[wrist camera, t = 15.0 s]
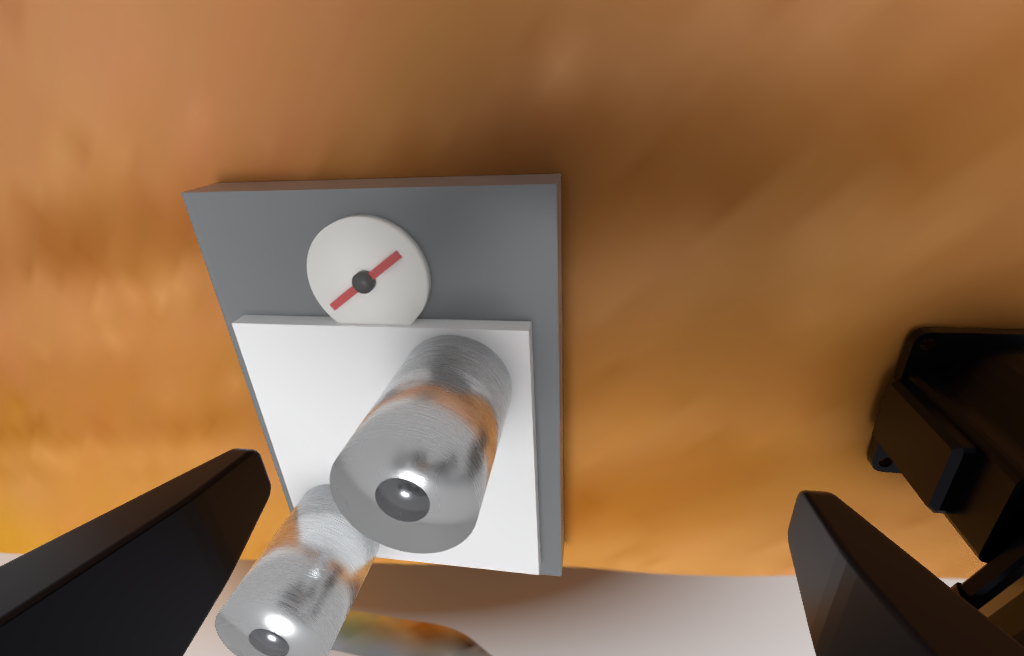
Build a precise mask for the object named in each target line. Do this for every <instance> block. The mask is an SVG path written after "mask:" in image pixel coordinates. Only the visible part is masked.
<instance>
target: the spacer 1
mask: <svg viewBox="0 0 1024 656" xmlns="http://www.w3.org/2000/svg"><path fill="white" fill-rule="evenodd" d="M380 546H381V544H379V543H377V542H375V541H373V540H372V539H370V538H368V537H367V536H365V535H364V534H362V533H361V532H360V531H358V530H357V529H356V528H354V527H353V526H352V525H351V524H350V523H349V522H348V521H347V520H346V518H345V517H344V516H343V515H342V513H341V512H340V510H339V509H338V507H337V506H336V504H335V502H334V499H333V497H332V494H331V490H330V484H323V485H318V486H315V487H313V488H311V489H309V490H308V491H307V492H306V493H305V494H304V495H303V497H302V498H301V500H300V501H299V502H298V504H297V505H296V506H295V508H294V509H293V511H292V512H291V513H290V515H289V516H288V518H287V519H286V520H285V522H284V523H283V524H282V526H281V527H280V529H279V530H278V531H277V533H276V534H275V535H274V537H273V538H272V540H271V541H270V542H269V544H268V545H267V547H266V548H265V549H264V551H263V552H262V553H261V555H260V556H259V558H258V559H257V560H256V562H255V563H254V565H253V566H252V567H251V569H250V570H249V572H248V573H247V574H246V576H245V577H244V578H243V580H242V581H241V582H240V584H239V585H238V587H237V588H236V589H235V591H234V592H233V594H232V595H231V596H230V598H229V599H228V601H227V602H226V603H225V605H224V606H223V607H222V609H221V610H220V611H219V613H218V614H217V616H216V620H215V627H216V631H217V633H218V635H219V637H220V639H221V640H222V642H223V643H224V644H225V645H226V647H227V648H228V649H229V650H230V651H232V652H233V653H234V654H235V655H236V656H328V654H329V652H330V650H331V648H332V646H333V643H334V641H335V639H336V637H337V635H338V633H339V631H340V629H341V627H342V625H343V623H344V621H345V619H346V616H347V614H348V612H349V610H350V608H351V606H352V604H353V602H354V600H355V598H356V596H357V593H358V591H359V589H360V587H361V585H362V583H363V581H364V579H365V577H366V575H367V573H368V571H369V569H370V566H371V564H372V562H373V560H374V558H375V556H376V554H377V552H378V550H379V548H380Z"/></svg>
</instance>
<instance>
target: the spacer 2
mask: <svg viewBox="0 0 1024 656" xmlns="http://www.w3.org/2000/svg"><path fill="white" fill-rule="evenodd" d="M511 398H512V381H511V377H510V374H509V372H508V369H507V367H506V366H505V364H504V363H503V361H502V360H501V359H500V358H499V356H498V355H497V354H496V353H495V352H494V351H492V350H491V349H490V348H488V347H487V346H485V345H484V344H482V343H480V342H478V341H476V340H474V339H471V338H468V337H464V336H459V335H440V336H435V337H432V338H429V339H427V340H424V341H423V342H421V343H420V344H418V345H417V346H416V347H415V348H414V349H413V350H412V351H411V352H410V354H409V355H408V356H407V358H406V359H405V361H404V362H403V364H402V365H401V366H400V368H399V369H398V371H397V372H396V374H395V375H394V376H393V378H392V379H391V381H390V382H389V384H388V385H387V387H386V388H385V389H384V391H383V392H382V394H381V395H380V397H379V398H378V399H377V401H376V402H375V404H374V405H373V407H372V408H371V409H370V411H369V412H368V414H367V415H366V417H365V418H364V419H363V421H362V422H361V424H360V425H359V427H358V428H357V429H356V431H355V432H354V434H353V435H352V437H351V438H350V440H349V441H348V442H347V444H346V445H345V447H344V448H343V450H342V451H341V452H340V454H339V455H338V457H337V458H336V460H335V462H334V463H333V465H332V468H331V471H330V478H329V480H330V490H331V494H332V497H333V499H334V502H335V504H336V506H337V507H338V509H339V510H340V512H341V513H342V515H343V516H344V517H345V518H346V520H347V521H348V522H349V523H350V524H351V525H352V526H353V527H354V528H356V529H357V530H358V531H360V532H361V533H362V534H364V535H365V536H367V537H368V538H370V539H372V540H373V541H375V542H377V543H379V544H382V545H384V546H386V547H389V548H392V549H395V550H399V551H403V552H409V553H419V554H428V553H437V552H442V551H446V550H449V549H451V548H453V547H456V546H457V545H459V544H461V543H462V542H463V541H464V540H466V539H467V538H468V536H469V535H470V534H471V533H472V531H473V529H474V528H475V525H476V522H477V519H478V516H479V512H480V509H481V505H482V502H483V498H484V494H485V491H486V487H487V484H488V480H489V477H490V473H491V470H492V466H493V463H494V459H495V455H496V452H497V448H498V445H499V441H500V438H501V434H502V431H503V427H504V424H505V420H506V416H507V413H508V409H509V406H510V402H511Z"/></svg>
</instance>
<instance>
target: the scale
mask: <svg viewBox="0 0 1024 656" xmlns="http://www.w3.org/2000/svg"><path fill="white" fill-rule="evenodd" d="M182 196H183V199H184V202H185V205H186V208H187V211H188V214H189V217H190V220H191V223H192V225H193V228H194V231H195V234H196V237H197V240H198V243H199V246H200V249H201V252H202V255H203V258H204V261H205V263H206V266H207V269H208V272H209V275H210V278H211V281H212V284H213V287H214V290H215V293H216V296H217V299H218V301H219V304H220V307H221V310H222V313H223V316H224V319H225V322H226V325H227V328H228V331H229V334H230V336H231V339H232V342H233V345H234V348H235V351H236V354H237V357H238V360H239V363H240V366H241V369H242V372H243V374H244V377H245V380H246V383H247V386H248V389H249V392H250V395H251V398H252V401H253V404H254V407H255V409H256V412H257V415H258V418H259V421H260V424H261V427H262V430H263V433H264V436H265V439H266V442H267V445H268V447H269V450H270V453H271V456H272V459H273V462H274V465H275V468H276V471H277V474H278V477H279V480H280V483H281V485H282V488H283V491H284V494H285V497H286V500H287V503H288V506H289V509H290V512H292V511H293V509H294V508H295V506H296V505H297V504H298V502H299V501H300V500H301V498H302V497H303V495H304V494H305V493H306V492H307V491H308V490H309V489H311V488H313V487H315V486H318V485H323V484H330V480H329V478H330V471H331V468H332V465H333V463H334V462H335V460H336V458H337V457H338V455H339V454H340V452H341V451H342V450H343V448H344V447H345V445H346V444H347V442H348V441H349V440H350V438H351V437H352V435H353V434H354V432H355V431H356V429H357V428H358V427H359V425H360V424H361V422H362V421H363V419H364V418H365V417H366V415H367V414H368V412H369V411H370V409H371V408H372V407H373V405H374V404H375V402H376V401H377V399H378V398H379V397H380V395H381V394H382V392H383V391H384V389H385V388H386V387H387V385H388V384H389V382H390V381H391V379H392V378H393V376H394V375H395V374H396V372H397V371H398V369H399V368H400V366H401V365H402V364H403V362H404V361H405V359H406V358H407V356H408V355H409V354H410V352H411V351H412V350H413V349H414V348H415V347H416V346H417V345H418V344H420V343H421V342H423V341H424V340H427V339H429V338H432V337H435V336H440V335H459V336H464V337H468V338H471V339H474V340H476V341H478V342H480V343H482V344H484V345H485V346H487V347H488V348H490V349H491V350H492V351H494V352H495V353H496V354H497V355H498V356H499V358H500V359H501V360H502V361H503V363H504V364H505V366H506V367H507V369H508V372H509V374H510V377H511V381H512V398H511V402H510V406H509V409H508V413H507V416H506V420H505V424H504V427H503V431H502V434H501V438H500V441H499V445H498V448H497V452H496V455H495V459H494V463H493V466H492V470H491V473H490V477H489V480H488V484H487V487H486V491H485V494H484V498H483V502H482V505H481V509H480V512H479V516H478V519H477V522H476V525H475V528H474V529H473V531H472V533H471V534H470V535H469V536H468V538H467V539H466V540H464V541H463V542H462V543H461V544H459V545H457V546H456V547H453V548H451V549H449V550H446V551H442V552H437V553H428V554H419V553H409V552H403V551H399V550H395V549H392V548H389V547H386V546H384V545H382V544H381V546H380V548H379V550H378V552H377V554H376V556H375V557H380V558H389V559H398V560H407V561H417V562H426V563H435V564H444V565H453V566H463V567H472V568H481V569H491V570H499V571H508V572H517V573H527V574H536V575H539V574H544V575H554V576H562V564H563V552H564V457H563V340H562V223H561V173H556V174H519V175H482V176H446V177H409V178H373V179H336V180H300V181H263V182H227V183H215V184H211V185H208V186H204V187H200V188H197V189H193V190H189V191H186V192H182Z"/></svg>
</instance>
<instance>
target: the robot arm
mask: <svg viewBox="0 0 1024 656" xmlns="http://www.w3.org/2000/svg"><path fill="white" fill-rule="evenodd" d="M929 338H930V340H929V342H928V343H927V344H925V345H921V346H920V344H921V343H922V341H924V340H926V339H929ZM873 436H874V438H873V441H872V444H871V447H870V450H869V453H868V458H867V459H868V461H869V462H870V464H871V465H872V467H873V468H874V469H875V470H877V471H881V472H893V473H902V474H903V476H904V477H905V478H906V480H907V481H908V482H909V484H910V485H911V486H912V488H913V489H914V490H915V492H916V493H917V494H918V495H919V497H920V498H921V499H922V501H923V502H924V503H925V505H926V506H927V507H928V508H929V509H930V510H931V511H932V512H934V513H943V514H944V515H945V516H946V518H947V519H948V520H949V521H950V523H951V524H952V525H953V526H954V528H955V529H956V530H957V532H958V533H959V534H960V535H961V537H962V538H963V539H964V541H965V542H966V543H967V544H968V546H969V547H970V548H971V549H972V551H973V552H974V553H975V555H976V556H977V557H978V558H979V559H980V560H981V561H982V562H985V563H987V564H986V565H984V566H983V567H982V568H981V569H979V570H978V571H977V572H976V573H974V574H973V575H972V576H971V577H970V578H968V579H967V580H966V581H965V582H963V583H956V584H955V585H953V586H952V587H951V588H950V587H949V586H947V585H946V584H945V583H944V582H942V581H941V580H940V579H939V578H938V577H936V576H935V575H934V574H933V573H931V572H930V571H929V570H928V569H926V568H925V567H924V566H923V565H921V564H920V563H919V562H918V561H916V560H915V559H914V558H913V557H911V556H910V555H909V554H908V553H906V552H905V551H904V550H903V549H901V548H900V547H899V546H898V545H896V544H895V543H894V542H893V541H891V540H890V539H889V538H888V537H886V536H885V535H884V534H883V533H882V532H880V531H879V530H878V529H877V528H875V527H874V526H873V525H872V524H870V523H869V522H868V521H867V520H865V519H864V518H863V517H862V516H860V515H859V514H858V513H857V512H855V511H854V510H853V509H852V508H850V507H849V506H848V505H847V504H845V503H844V502H843V501H842V500H840V499H839V498H838V497H837V496H835V495H834V494H832V493H829V492H821V491H808V490H805V491H801V492H800V493H799V494H798V496H797V499H796V503H795V506H794V510H793V514H792V517H791V521H790V525H789V529H788V542H789V548H790V552H791V556H792V560H793V564H794V568H795V572H796V577H797V581H798V584H799V589H800V593H801V597H802V601H803V605H804V610H805V614H806V618H807V622H808V626H809V630H810V634H811V638H812V641H813V645H814V649H815V653H816V656H1024V329H979V328H933V327H925V328H919V329H917V330H915V331H913V332H912V333H911V334H910V335H909V336H908V338H907V340H906V343H905V346H904V349H903V352H902V355H901V358H900V361H899V364H898V367H897V370H896V373H895V376H894V379H893V380H892V381H891V382H890V383H889V385H888V388H887V391H886V394H885V397H884V400H883V403H882V406H881V408H880V411H879V414H878V417H877V420H876V423H875V426H874V429H873ZM883 458H886V459H884V460H881V459H883ZM880 460H881V461H880ZM270 491H271V484H270V480H269V478H268V475H267V472H266V469H265V466H264V463H263V461H262V458H261V455H260V454H259V453H258V452H257V451H256V450H252V449H239V448H238V449H232V450H230V451H228V452H226V453H224V454H222V455H220V456H218V457H216V458H214V459H212V460H210V461H208V462H206V463H204V464H202V465H200V466H198V467H196V468H194V469H192V470H190V471H188V472H186V473H184V474H182V475H180V476H178V477H176V478H174V479H172V480H170V481H168V482H166V483H164V484H162V485H160V486H158V487H156V488H154V489H152V490H150V491H148V492H146V493H144V494H143V495H141V496H139V497H137V498H135V499H133V500H131V501H129V502H127V503H125V504H123V505H121V506H119V507H117V508H115V509H113V510H111V511H109V512H107V513H105V514H103V515H101V516H99V517H97V518H95V519H93V520H91V521H89V522H87V523H85V524H83V525H81V526H79V527H77V528H75V529H73V530H71V531H69V532H67V533H65V534H63V535H61V536H59V537H58V538H56V539H54V540H52V541H50V542H48V543H46V544H44V545H42V546H40V547H38V548H36V549H34V550H32V551H30V552H28V553H26V554H24V555H22V556H20V557H18V558H16V559H14V560H12V561H10V562H8V563H6V564H4V565H2V566H0V656H183V655H184V653H185V652H186V650H187V648H188V647H189V645H190V643H191V642H192V640H193V638H194V636H195V635H196V633H197V632H198V630H199V628H200V627H201V625H202V623H203V622H204V620H205V618H206V617H207V615H208V613H209V612H210V610H211V608H212V607H213V605H214V603H215V602H216V600H217V598H218V597H219V595H220V593H221V592H222V590H223V588H224V587H225V585H226V583H227V581H228V580H229V577H230V576H231V574H232V572H233V570H234V568H235V566H236V564H237V562H238V560H239V558H240V556H241V554H242V552H243V550H244V548H245V546H246V544H247V542H248V540H249V537H250V535H251V533H252V531H253V529H254V527H255V525H256V523H257V521H258V519H259V517H260V515H261V513H262V511H263V509H264V507H265V505H266V503H267V501H268V498H269V495H270Z"/></svg>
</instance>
